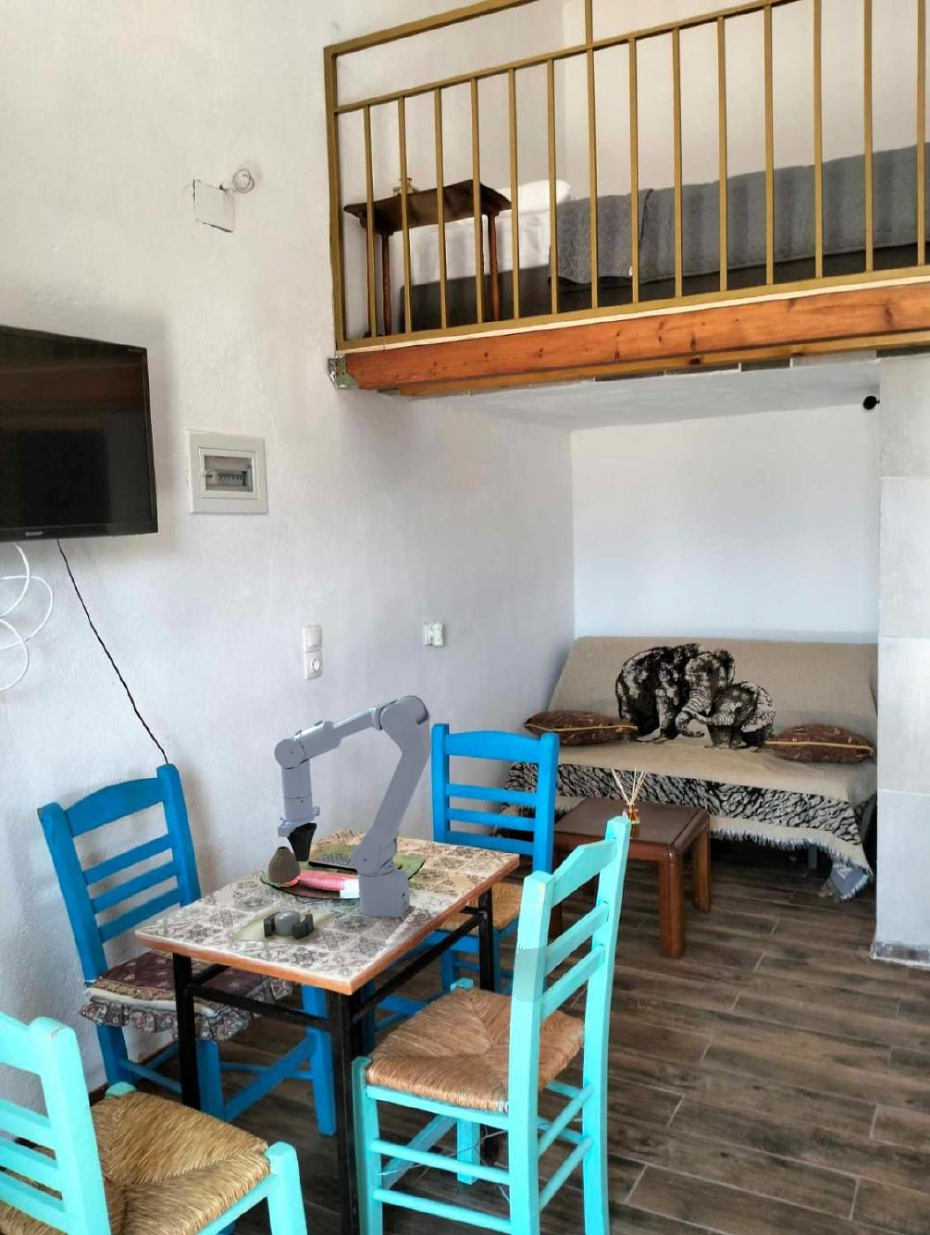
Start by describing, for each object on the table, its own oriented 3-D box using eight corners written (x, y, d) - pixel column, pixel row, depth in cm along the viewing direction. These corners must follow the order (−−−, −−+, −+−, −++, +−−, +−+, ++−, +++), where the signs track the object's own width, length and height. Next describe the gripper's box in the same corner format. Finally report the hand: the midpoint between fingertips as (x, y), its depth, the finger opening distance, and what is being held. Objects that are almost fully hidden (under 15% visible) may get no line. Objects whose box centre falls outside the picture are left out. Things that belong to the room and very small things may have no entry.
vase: (305, 880, 217) (302, 842, 217) (297, 892, 211) (293, 852, 210) (274, 881, 218) (271, 842, 217) (265, 893, 211) (262, 853, 210)
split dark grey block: (318, 926, 190) (317, 914, 190) (303, 940, 184) (302, 927, 184) (275, 922, 193) (274, 910, 193) (259, 936, 187) (258, 924, 187)
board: (338, 918, 195) (338, 914, 195) (305, 948, 182) (305, 944, 182) (266, 913, 200) (265, 909, 200) (229, 942, 187) (228, 938, 187)
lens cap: (305, 927, 190) (304, 911, 190) (292, 937, 185) (291, 921, 185) (284, 924, 192) (283, 908, 191) (270, 934, 187) (269, 918, 187)
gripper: (296, 784, 208) (301, 847, 209) (261, 804, 194) (267, 872, 195) (327, 785, 205) (331, 849, 207) (294, 805, 192) (299, 874, 193)
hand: (302, 860), depth 201 cm, fingers closed
